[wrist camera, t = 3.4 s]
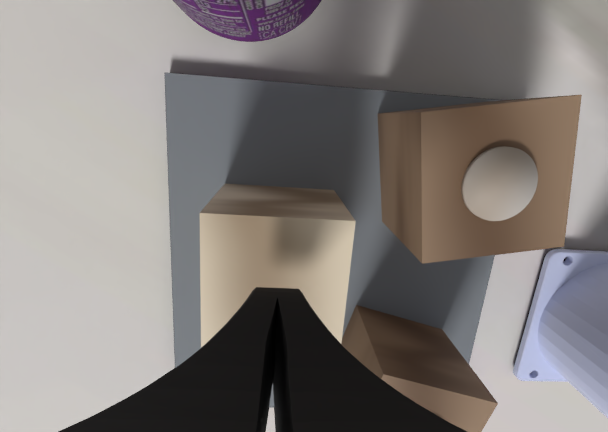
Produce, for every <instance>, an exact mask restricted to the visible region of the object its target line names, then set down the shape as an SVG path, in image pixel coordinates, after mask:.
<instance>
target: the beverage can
mask: <svg viewBox="0 0 608 432" xmlns="http://www.w3.org/2000/svg"><path fill="white" fill-rule="evenodd" d="M173 1H174V2H175V3H176V4H177V5H178V6H179V7H180V8H181V9H182V10H183V11H184V12H185V13H186V14H187V15H188V16H189V17H190V18H191V19H192V20H193V21H195V22H196V23H197V24H199V25H200V26H202V27H203V28H205V29H206V30H208V31H210V32H212V33H214V34H217V35H219V36H222V37H224V38H228V39H232V40H237V41H246V42H255V41H264V40H269V39H272V38H276V37H278V36H281V35H283V34H285V33H287V32H289V31H291V30H293V29H294V28H296V27H297V26H298V25H300V24H301V23H302V22H303V21H305V20H306V19H307V18H308V17H309V16H310V15H311V14H312V12H313V11H314V10H315V9H316V7H317V6H318V5H319V3H320V2H321V0H173Z"/></svg>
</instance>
